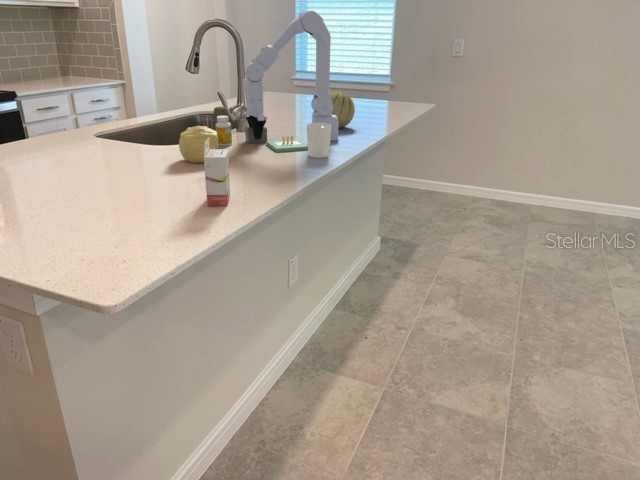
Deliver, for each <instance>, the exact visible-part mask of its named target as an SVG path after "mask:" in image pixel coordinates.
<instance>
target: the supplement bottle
mask: <svg viewBox="0 0 640 480" xmlns="http://www.w3.org/2000/svg"><path fill="white" fill-rule="evenodd" d="M229 120H230V119H229V115H227V116H217V121H218V123H216V125H215V124H214V127H215V126H216V132H217V135H218V146H221V147H228V146H232V144H233V137H232V124H231V122H229Z"/></svg>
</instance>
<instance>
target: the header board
mask: <svg viewBox="0 0 640 480" xmlns="http://www.w3.org/2000/svg"><path fill="white" fill-rule="evenodd" d="M265 143H266V146H267V147H269V148H270V149H272V151H274V152H276V153H283V152H284V153H285V152H286V153H287V152H299V151H308V143H305V142H304V141H302V140H300V139H297V138H296V139H294V136H293V135H291V136H286V137H285V136H282V139H281V140H267V141H266V142H265Z"/></svg>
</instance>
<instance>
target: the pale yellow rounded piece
mask: <svg viewBox="0 0 640 480" xmlns="http://www.w3.org/2000/svg"><path fill="white" fill-rule="evenodd" d="M208 138H209V150H210V149H219V145H218V135H217V132H216V131H215V129H212V128H209V127H207V126H205V125H203V126H202V125H201V126H200V125H196V126H191V127H190V126H188V127H187V128H186V129H185V131H182V132H181V133H180V137H179V141H178V147H179V151H180V155H181V156H182V157H183V159H184V160H185V161H187V162H189V163H194V164H200V163H202V164H204V143H205V142H206V140H207V139H208ZM206 148H207V146H206Z"/></svg>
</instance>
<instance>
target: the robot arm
mask: <svg viewBox="0 0 640 480" xmlns="http://www.w3.org/2000/svg"><path fill="white" fill-rule="evenodd" d="M304 33H307V34H309V36H311V37H312V38H313V40H315V41H316V42H315V44H316V45H315V86H314V87H315V88H314V91H313V97H312V100H311V104H310V105H311V108H312V110H313V112H312V114H311V123H327V124H330V125H331V137H330V142H332V141H333V142H335V141H336V142H337V141H339V140H340V139H339V128H338V125H339V123H338V118H337V116H336V115H332V114H331V112H332V111H333V103H332V101H331V90H330V78H331V77H330V76H331V74H330V73H331V71H330V70H331V41H332V39H331V38H332V37H331V36H332V35H331V32H330V31H329V29H328V28H327V26H326V24H325V22H324V18H323V16H321V15H320V14H319V13H317V12H316V11H314V10H308V11H302V12H301V13H299V15H298V16H297V17H295V18H294V19H293V20H291V22H290V23H289V24H288V25H287V26H286V27H285V29H284V30H283V31H282V32H281V33H280V35H279V36H278V37H276V40H274V42H273V43H272V44H270V45H269V44H267V45H265V46H261V48H260V52H259V53H257V55H256V56H255V57H253V58H251V63H248V64H247V65H246V66H245V70H244V75H245V77H246V81H245V82H246V85H245V86H246V109H247V111H244V112H243V114H244V115H247V116H246V117H244V118H245V120H246V121H247V123H248V127H253V132H254V137H255V139H261V137H262V132H263V127H265V125H266V123H267V119H265V111H264V87H263V78H264V75H265V72H267V71H268V70H269V69H270V68H271V67H272V66H273V64H274V63H275V62H276V61H277V60H278V59H279V56H280V55H279V52H280V51H281V50H282V49H283V48H284V47H285V46H286V45H287V44H288V43H289V42H290V41H291V39H292V38H294V37H295V36H296V35H299V34H304Z"/></svg>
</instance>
